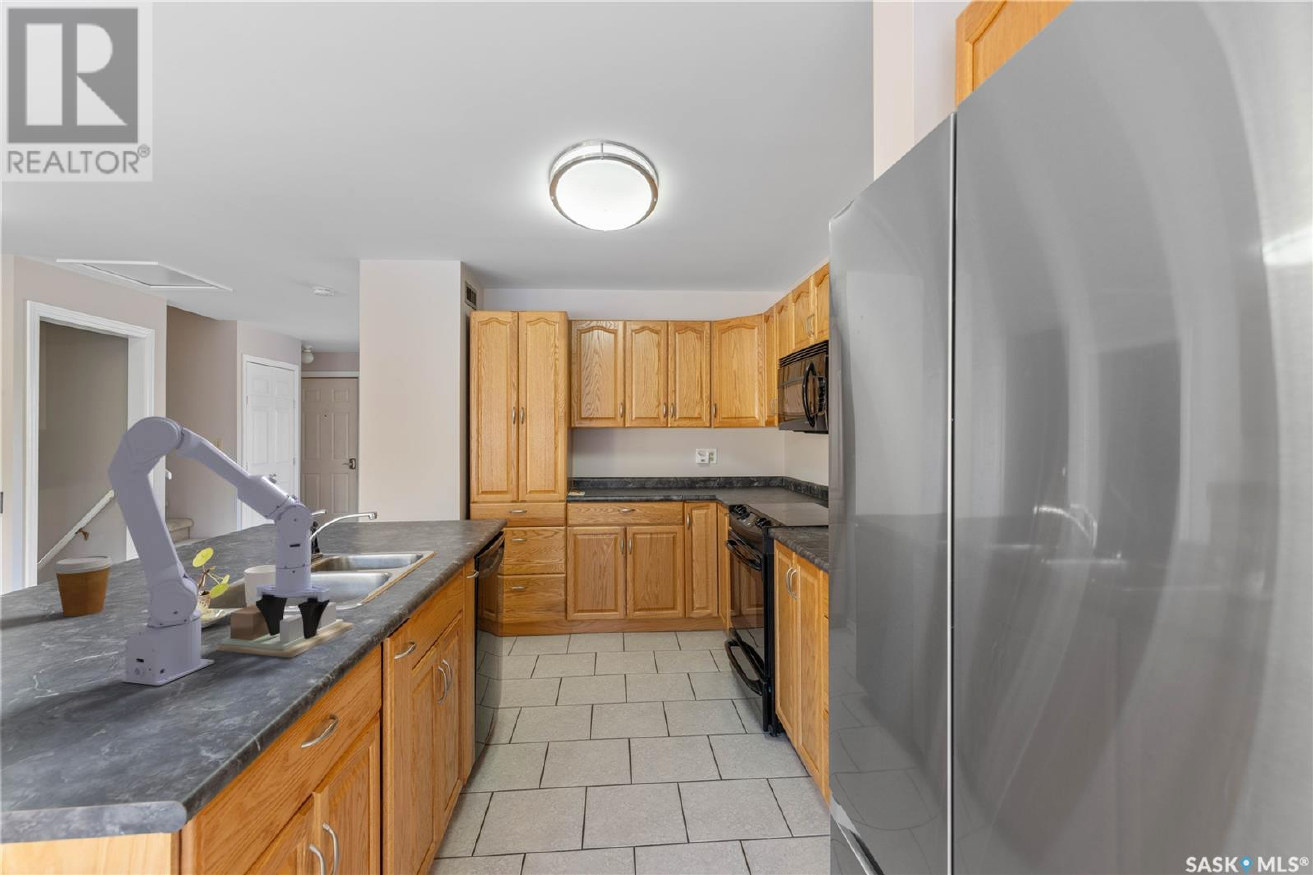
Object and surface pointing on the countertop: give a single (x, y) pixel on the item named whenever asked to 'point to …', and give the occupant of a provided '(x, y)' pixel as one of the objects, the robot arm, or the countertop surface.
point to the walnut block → (248, 624)
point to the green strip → (276, 636)
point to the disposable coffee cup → (82, 584)
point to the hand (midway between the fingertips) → (292, 635)
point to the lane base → (294, 649)
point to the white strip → (320, 630)
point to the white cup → (257, 581)
